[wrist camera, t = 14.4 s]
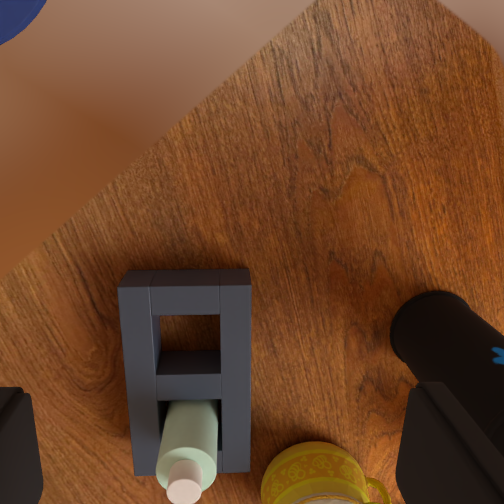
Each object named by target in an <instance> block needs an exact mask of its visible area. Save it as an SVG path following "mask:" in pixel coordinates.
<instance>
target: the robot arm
mask: <svg viewBox="0 0 504 504" xmlns="http://www.w3.org/2000/svg"><path fill="white" fill-rule="evenodd" d="M396 482H397V485H398V488H399V490H400V492H401V495H402V497H403V499H404V501H405V503H406V504H504V457H503V456H502V455H501V454H500V452H499V451H498V450H497V449H496V447H495V446H494V445H493V444H492V442H491V441H490V440H489V439H488V438H487V436H486V435H485V434H484V433H483V431H482V430H481V429H480V428H479V426H478V425H477V424H476V423H475V421H474V420H473V419H472V418H471V416H470V415H469V414H468V413H467V411H466V410H465V409H464V408H463V406H462V405H461V404H460V403H459V401H458V400H457V399H456V398H455V397H454V395H453V394H452V393H451V392H450V390H449V389H448V388H447V387H446V385H445V384H444V383H442V382H419V383H418V384H417V385H416V388H412V389H411V390H410V392H409V397H408V403H407V408H406V414H405V420H404V425H403V431H402V437H401V443H400V448H399V454H398V460H397V466H396ZM42 490H43V475H42V469H41V462H40V455H39V448H38V441H37V435H36V428H35V421H34V414H33V407H32V400H31V396H30V394H29V393H24V391H23V389H22V388H21V387H0V504H38V502H39V500H40V498H41V495H42Z"/></svg>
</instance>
